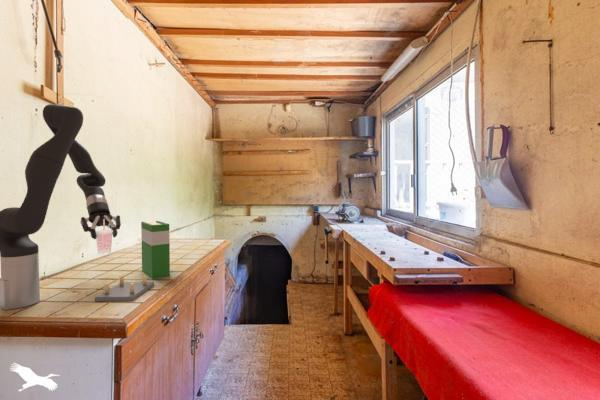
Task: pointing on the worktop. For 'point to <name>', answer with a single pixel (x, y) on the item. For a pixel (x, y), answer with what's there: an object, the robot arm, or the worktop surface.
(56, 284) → the worktop surface
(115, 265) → the worktop surface
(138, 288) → the chassis
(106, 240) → the beverage cup
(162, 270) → the hardback book
